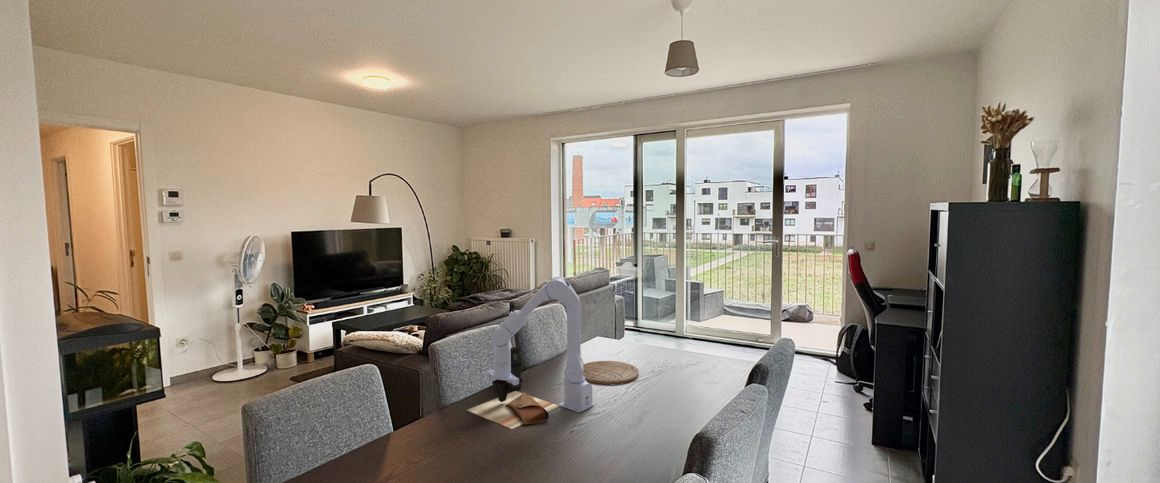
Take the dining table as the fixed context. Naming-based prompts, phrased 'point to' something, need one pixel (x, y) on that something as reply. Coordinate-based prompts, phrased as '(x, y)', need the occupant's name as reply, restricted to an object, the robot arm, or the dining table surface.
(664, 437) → the dining table surface
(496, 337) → the robot arm
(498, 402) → the beige flat square sheet
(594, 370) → the trivet
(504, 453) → the dining table surface
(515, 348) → the black angular block
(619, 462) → the dining table surface
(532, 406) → the sunglasses case
